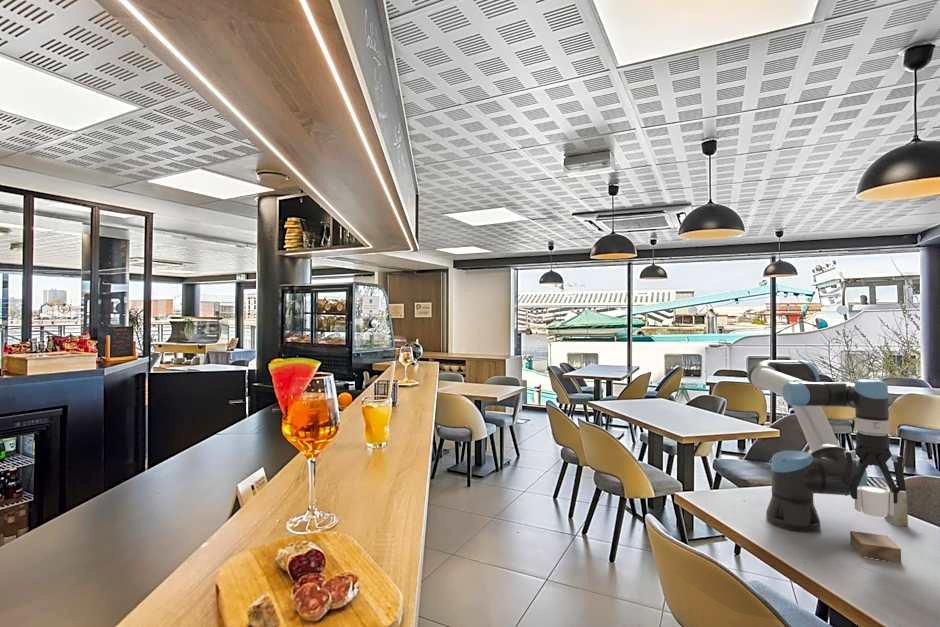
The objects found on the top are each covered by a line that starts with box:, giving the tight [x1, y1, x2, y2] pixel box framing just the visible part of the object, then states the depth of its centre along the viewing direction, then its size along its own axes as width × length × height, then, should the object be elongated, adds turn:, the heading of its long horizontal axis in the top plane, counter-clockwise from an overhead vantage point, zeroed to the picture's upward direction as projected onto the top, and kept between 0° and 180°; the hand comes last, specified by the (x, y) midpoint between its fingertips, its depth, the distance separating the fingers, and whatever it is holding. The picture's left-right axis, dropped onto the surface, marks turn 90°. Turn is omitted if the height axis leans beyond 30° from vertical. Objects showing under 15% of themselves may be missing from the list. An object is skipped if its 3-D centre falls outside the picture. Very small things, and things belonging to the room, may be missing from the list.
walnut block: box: [849, 530, 902, 564], centre depth 140 cm, size 9×9×4 cm
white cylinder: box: [859, 485, 889, 518], centre depth 140 cm, size 7×7×7 cm
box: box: [882, 486, 909, 527], centre depth 161 cm, size 5×4×11 cm
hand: (873, 511), depth 140 cm, fingers closed on white cylinder, 7 cm apart
